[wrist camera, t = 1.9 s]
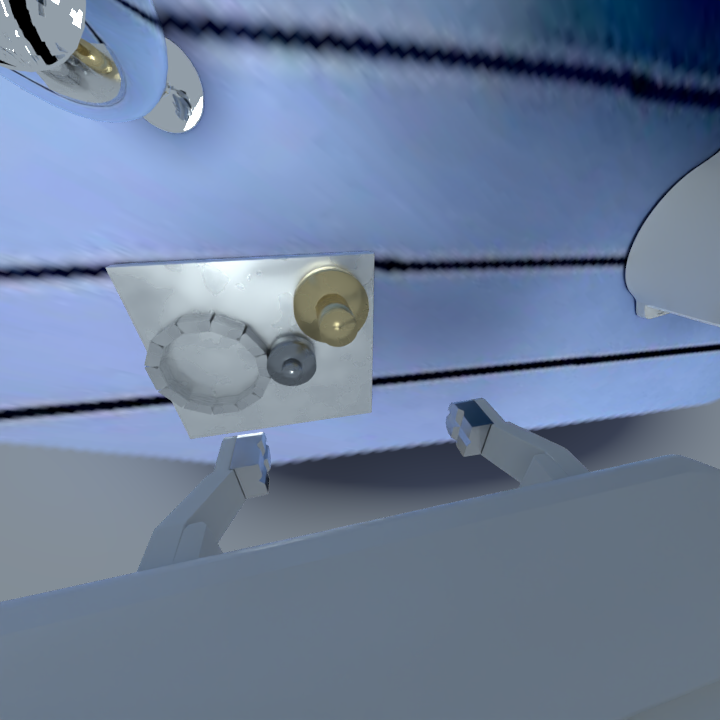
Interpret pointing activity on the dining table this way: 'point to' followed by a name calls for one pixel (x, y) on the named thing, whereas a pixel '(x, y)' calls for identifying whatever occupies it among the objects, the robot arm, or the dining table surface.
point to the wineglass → (100, 61)
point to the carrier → (245, 341)
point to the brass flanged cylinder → (330, 305)
